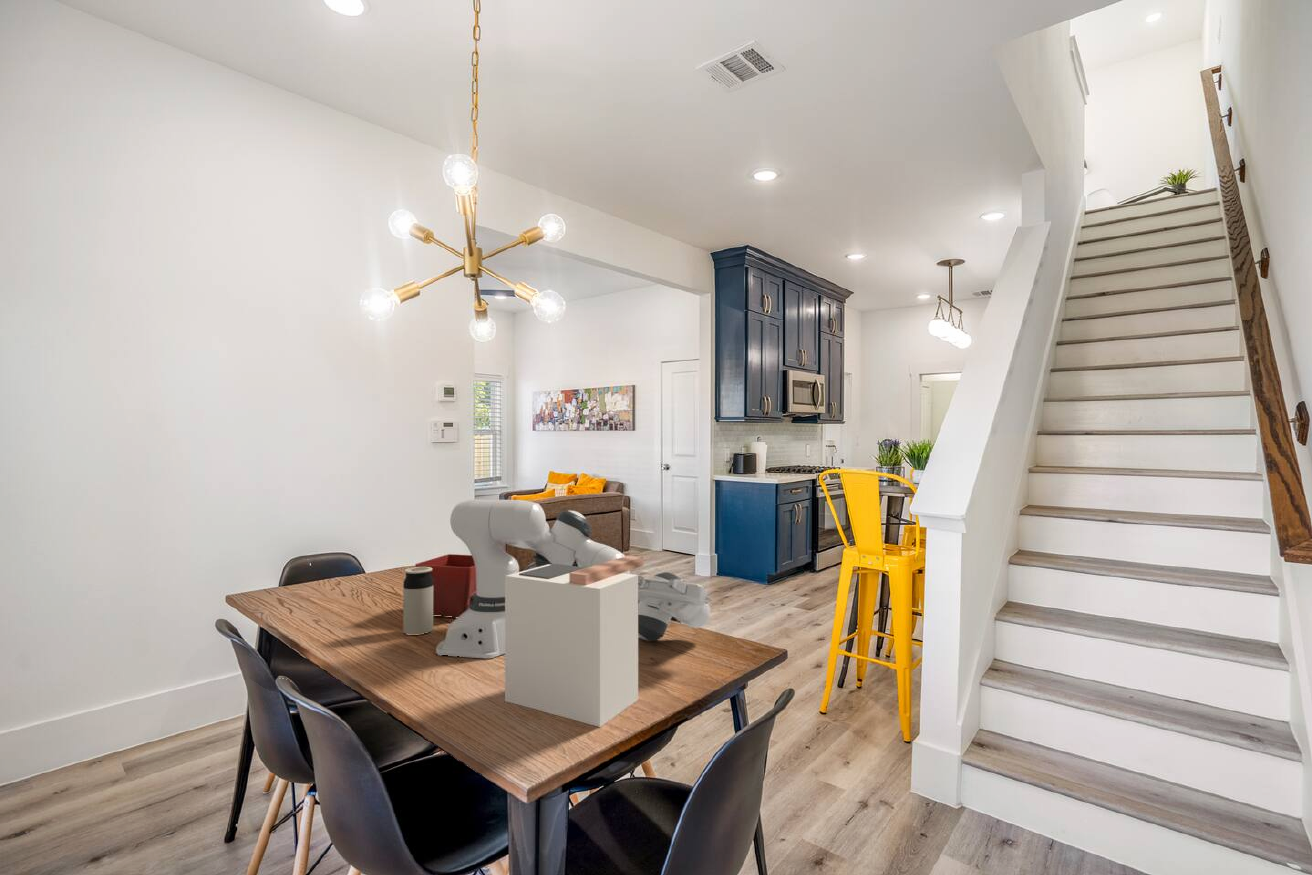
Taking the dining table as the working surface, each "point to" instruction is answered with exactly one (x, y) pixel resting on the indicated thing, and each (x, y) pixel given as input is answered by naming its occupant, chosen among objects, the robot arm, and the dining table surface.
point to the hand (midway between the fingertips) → (654, 580)
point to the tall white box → (571, 643)
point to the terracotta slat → (605, 570)
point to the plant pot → (451, 583)
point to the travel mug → (418, 600)
